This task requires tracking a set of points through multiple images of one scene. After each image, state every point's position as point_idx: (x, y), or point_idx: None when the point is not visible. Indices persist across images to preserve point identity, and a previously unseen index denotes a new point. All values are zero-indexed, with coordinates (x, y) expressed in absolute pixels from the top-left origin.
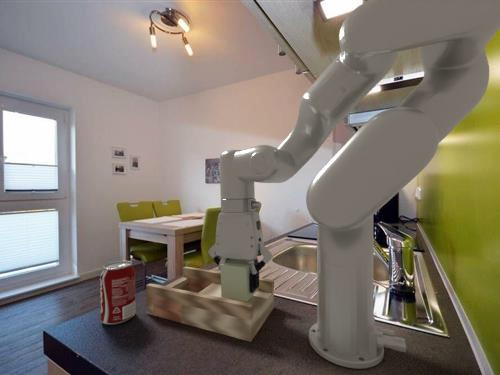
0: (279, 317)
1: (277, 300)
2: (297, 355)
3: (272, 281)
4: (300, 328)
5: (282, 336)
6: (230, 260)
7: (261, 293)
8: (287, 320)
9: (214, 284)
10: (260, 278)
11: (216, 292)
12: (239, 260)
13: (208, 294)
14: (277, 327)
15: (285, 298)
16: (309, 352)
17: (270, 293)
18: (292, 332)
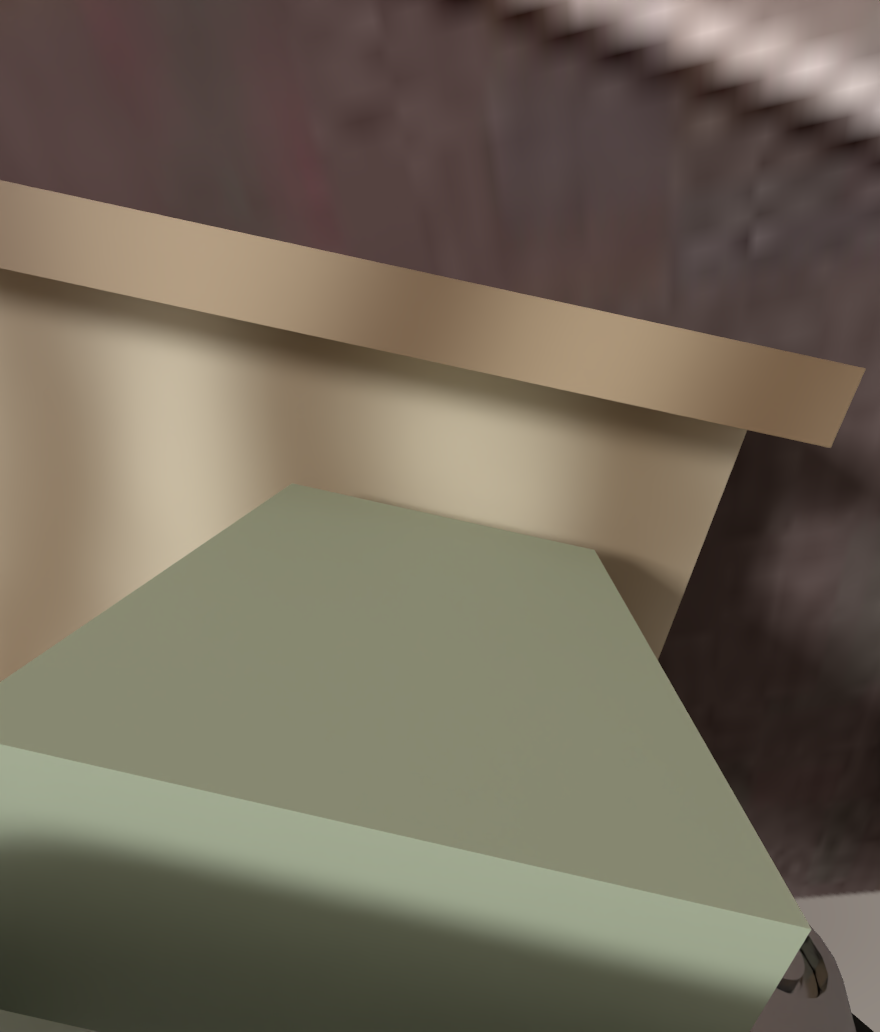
0: (726, 512)
1: (728, 204)
2: (793, 828)
3: (833, 431)
4: (863, 620)
5: (729, 709)
6: (30, 999)
7: (619, 473)
8: (785, 542)
9: (8, 328)
10: (637, 342)
11: (142, 527)
12: (270, 1004)
13: (93, 584)
14: (703, 632)
15: (823, 131)
16: (861, 804)
17: (723, 453)
18: (798, 666)
